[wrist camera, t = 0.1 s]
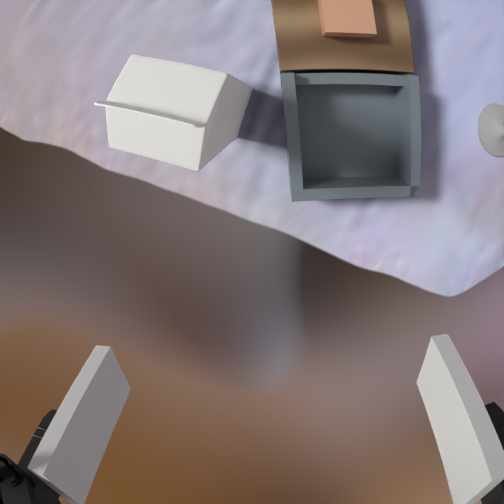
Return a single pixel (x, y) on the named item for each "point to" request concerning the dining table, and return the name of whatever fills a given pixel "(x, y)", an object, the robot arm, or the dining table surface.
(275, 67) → the dining table surface
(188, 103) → the milk
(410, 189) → the tray
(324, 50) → the board
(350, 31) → the tile
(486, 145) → the wineglass
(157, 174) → the dining table surface
